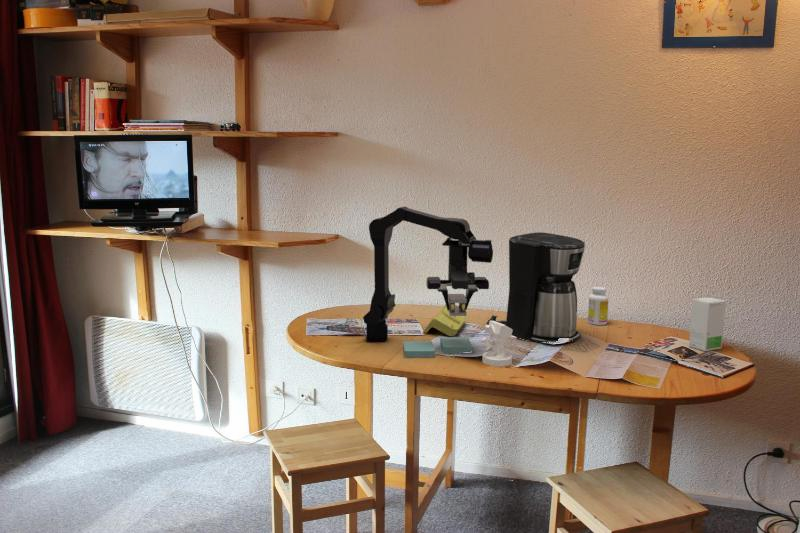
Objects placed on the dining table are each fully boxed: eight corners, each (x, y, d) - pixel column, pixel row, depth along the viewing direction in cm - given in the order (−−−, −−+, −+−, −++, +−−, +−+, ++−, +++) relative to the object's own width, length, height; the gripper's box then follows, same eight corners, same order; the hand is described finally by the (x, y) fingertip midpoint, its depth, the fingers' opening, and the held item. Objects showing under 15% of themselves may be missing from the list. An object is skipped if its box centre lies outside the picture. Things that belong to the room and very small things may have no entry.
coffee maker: (575, 349, 211) (581, 242, 205) (475, 338, 222) (477, 236, 216) (583, 330, 232) (589, 233, 226) (491, 321, 243) (494, 228, 237)
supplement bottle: (608, 322, 243) (610, 287, 241) (605, 326, 237) (607, 290, 235) (589, 319, 246) (591, 285, 244) (585, 324, 240) (587, 288, 238)
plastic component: (456, 331, 222) (430, 316, 224) (447, 349, 225) (421, 334, 227) (470, 312, 240) (445, 298, 242) (461, 329, 243) (437, 315, 245)
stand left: (404, 357, 202) (404, 351, 201) (403, 347, 212) (403, 341, 211) (434, 357, 202) (434, 351, 202) (431, 347, 212) (432, 341, 212)
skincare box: (704, 352, 209) (709, 303, 206) (686, 346, 215) (691, 298, 212) (722, 348, 213) (727, 300, 210) (704, 342, 219) (709, 296, 216)
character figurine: (476, 359, 200) (477, 320, 198) (502, 355, 205) (503, 316, 203) (494, 368, 193) (495, 327, 191) (520, 363, 197) (522, 323, 195)
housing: (450, 315, 205) (450, 299, 204) (447, 309, 213) (447, 293, 212) (466, 315, 205) (466, 299, 204) (463, 309, 213) (463, 293, 212)
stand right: (443, 353, 206) (443, 347, 206) (440, 343, 216) (440, 337, 216) (472, 353, 206) (472, 346, 206) (468, 343, 216) (468, 337, 216)
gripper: (429, 265, 198) (428, 316, 201) (492, 265, 198) (491, 316, 201) (426, 258, 209) (425, 307, 212) (486, 258, 209) (485, 307, 212)
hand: (456, 310), depth 209 cm, fingers closed on housing, 5 cm apart
